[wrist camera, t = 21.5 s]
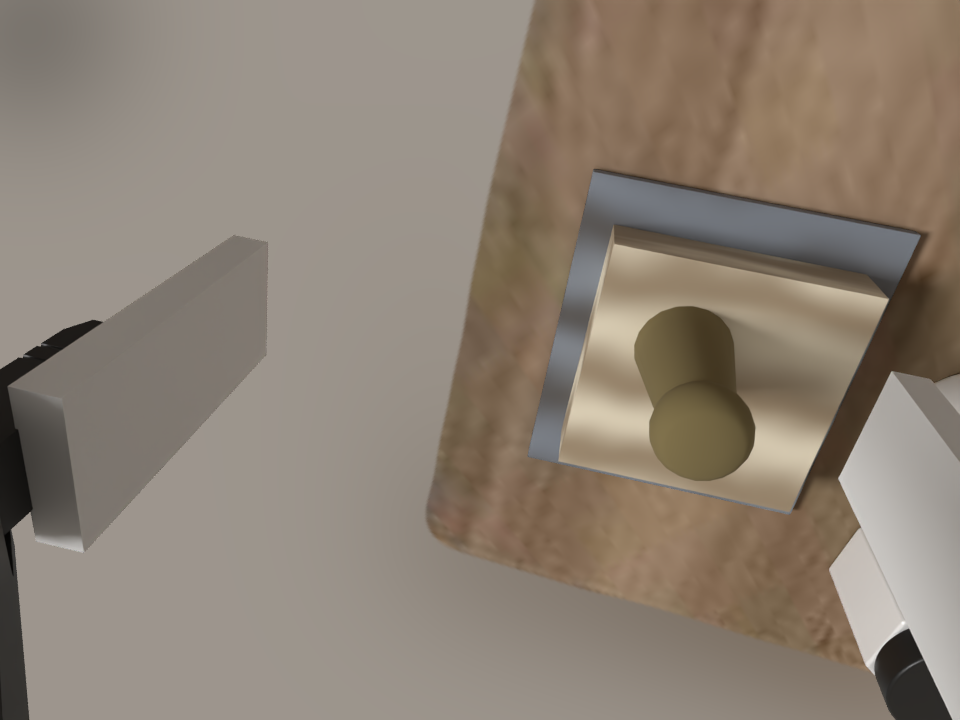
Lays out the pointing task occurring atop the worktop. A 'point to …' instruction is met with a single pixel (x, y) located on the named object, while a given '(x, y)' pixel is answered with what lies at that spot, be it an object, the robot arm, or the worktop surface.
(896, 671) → the jar
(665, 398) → the cork
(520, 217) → the worktop surface
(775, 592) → the worktop surface
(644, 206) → the plinth
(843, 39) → the worktop surface
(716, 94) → the worktop surface
